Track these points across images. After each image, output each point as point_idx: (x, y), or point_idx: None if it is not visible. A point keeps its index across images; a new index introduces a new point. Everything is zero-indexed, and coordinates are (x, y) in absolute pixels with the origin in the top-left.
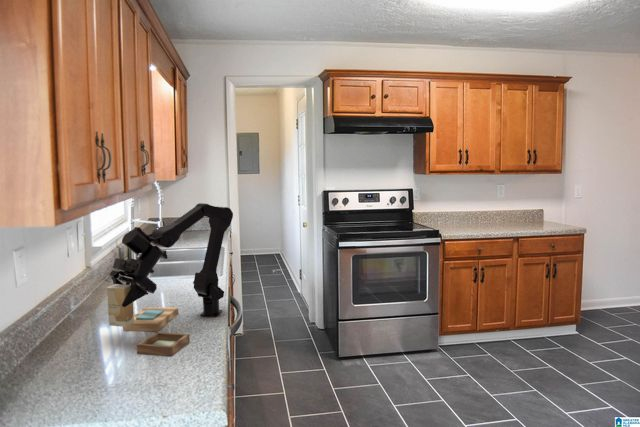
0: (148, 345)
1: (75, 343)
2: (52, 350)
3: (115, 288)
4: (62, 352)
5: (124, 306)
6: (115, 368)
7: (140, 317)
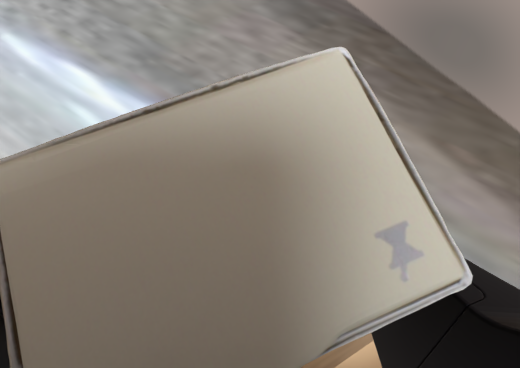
0: None
1: None
2: (368, 72)
3: (175, 102)
4: None
5: None
6: (70, 93)
7: None
